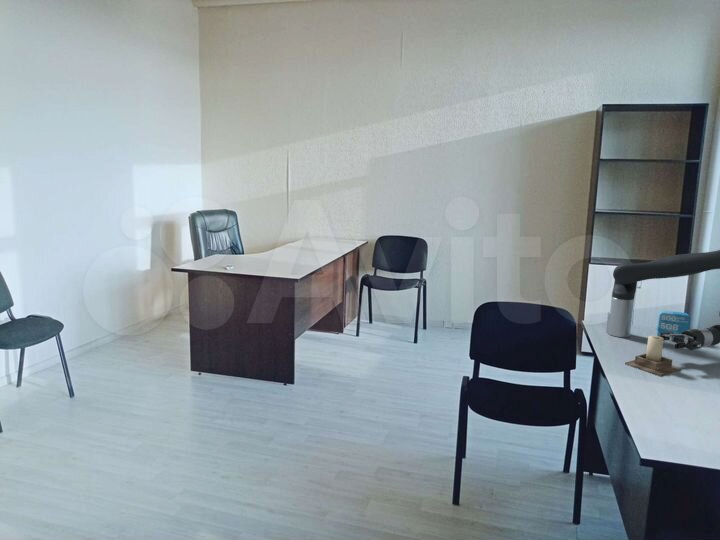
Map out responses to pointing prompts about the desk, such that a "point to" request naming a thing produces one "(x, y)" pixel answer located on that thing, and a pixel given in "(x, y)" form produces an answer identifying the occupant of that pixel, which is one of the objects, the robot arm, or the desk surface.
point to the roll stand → (653, 365)
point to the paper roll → (654, 348)
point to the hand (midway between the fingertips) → (666, 342)
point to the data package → (672, 322)
